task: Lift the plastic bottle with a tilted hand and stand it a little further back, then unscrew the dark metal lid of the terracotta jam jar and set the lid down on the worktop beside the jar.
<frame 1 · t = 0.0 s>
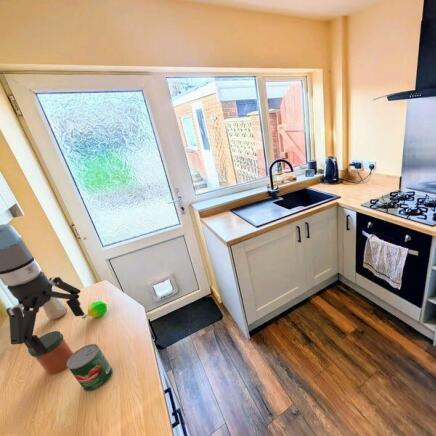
hand: (62, 332, 77), 15 cm above the countertop, tool pointing down, fingers open, 13 cm apart
plastic bottle: (59, 315, 106), on the countertop
canned tomato: (99, 379, 78), on the countertop
jam jar: (61, 363, 84), on the countertop
apple: (97, 316, 104), on the countertop
jar lid: (45, 342, 80), point 11 cm above the countertop, screwed on, not yet turned
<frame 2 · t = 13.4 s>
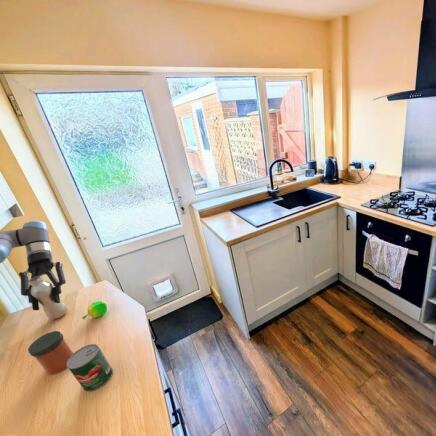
hand: (46, 306, 100), 8 cm above the countertop, tool tilted 45°, fingers closed on plastic bottle, 6 cm apart
plastic bottle: (59, 315, 106), on the countertop, touching gripper
everything else where it was.
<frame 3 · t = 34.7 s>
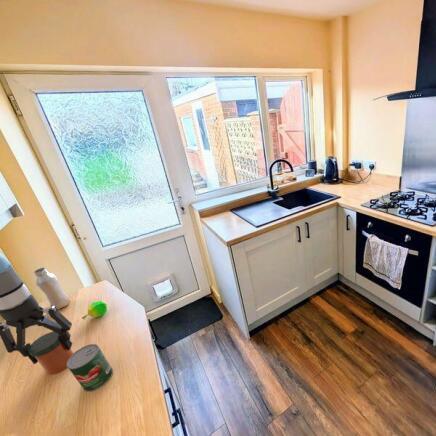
hand: (53, 353, 82), 5 cm above the countertop, tool pointing down, fingers closed on jar lid, 8 cm apart
plastic bottle: (63, 306, 112), on the countertop
jar lid: (45, 342, 80), point 11 cm above the countertop, screwed on, not yet turned, touching gripper
everything else where it was.
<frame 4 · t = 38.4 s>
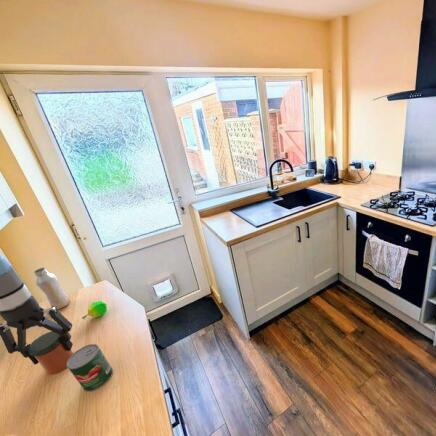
hand: (54, 354, 82), 5 cm above the countertop, tool pointing down, fingers closed on jar lid, 8 cm apart
jar lid: (45, 341, 80), point 11 cm above the countertop, turned 132° so far, risen 0.2 cm, still on its thread, touching gripper
everything else where it was.
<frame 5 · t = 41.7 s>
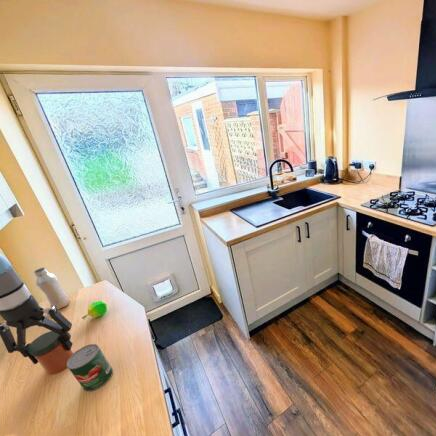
hand: (54, 353, 82), 5 cm above the countertop, tool pointing down, fingers closed on jar lid, 8 cm apart
jar lid: (44, 341, 80), point 11 cm above the countertop, turned 264° so far, risen 0.4 cm, still on its thread, touching gripper
everything else where it was.
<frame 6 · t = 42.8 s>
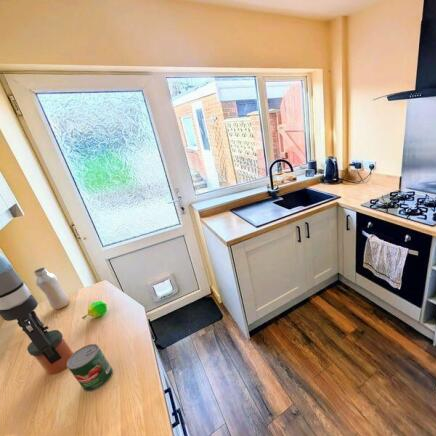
hand: (53, 353, 82), 5 cm above the countertop, tool pointing down, fingers closed on jar lid, 8 cm apart
jar lid: (44, 341, 80), point 11 cm above the countertop, off its thread, touching gripper
everything else where it was.
when the fingers open (1 cm above the countertop, at t = 49.9 s): jar lid drops 5 cm, point 1 cm above the countertop.
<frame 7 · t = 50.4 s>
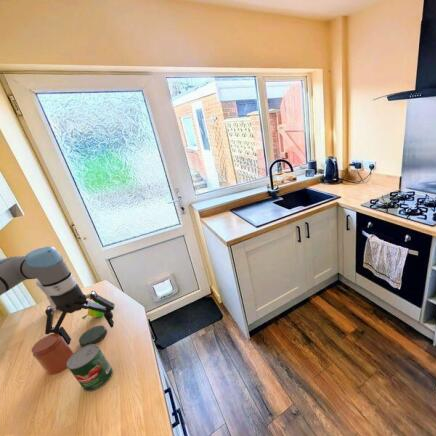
hand: (91, 333, 92), 2 cm above the countertop, tool pointing down, fingers open, 13 cm apart
jar lid: (92, 335, 92), point 1 cm above the countertop, off its thread
everything else where it was.
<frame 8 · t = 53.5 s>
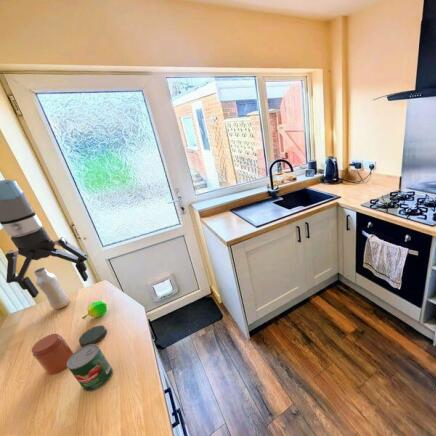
hand: (62, 286, 83), 25 cm above the countertop, tool pointing down, fingers open, 13 cm apart
nothing on the countertop moved.
at the end: jar lid inside the target area on the countertop beside the jam jar (0.7 cm from its centre), point 1.5 cm above the countertop; the gripper is holding nothing; plastic bottle inside the target area (0.0 cm from its centre), on the countertop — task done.
